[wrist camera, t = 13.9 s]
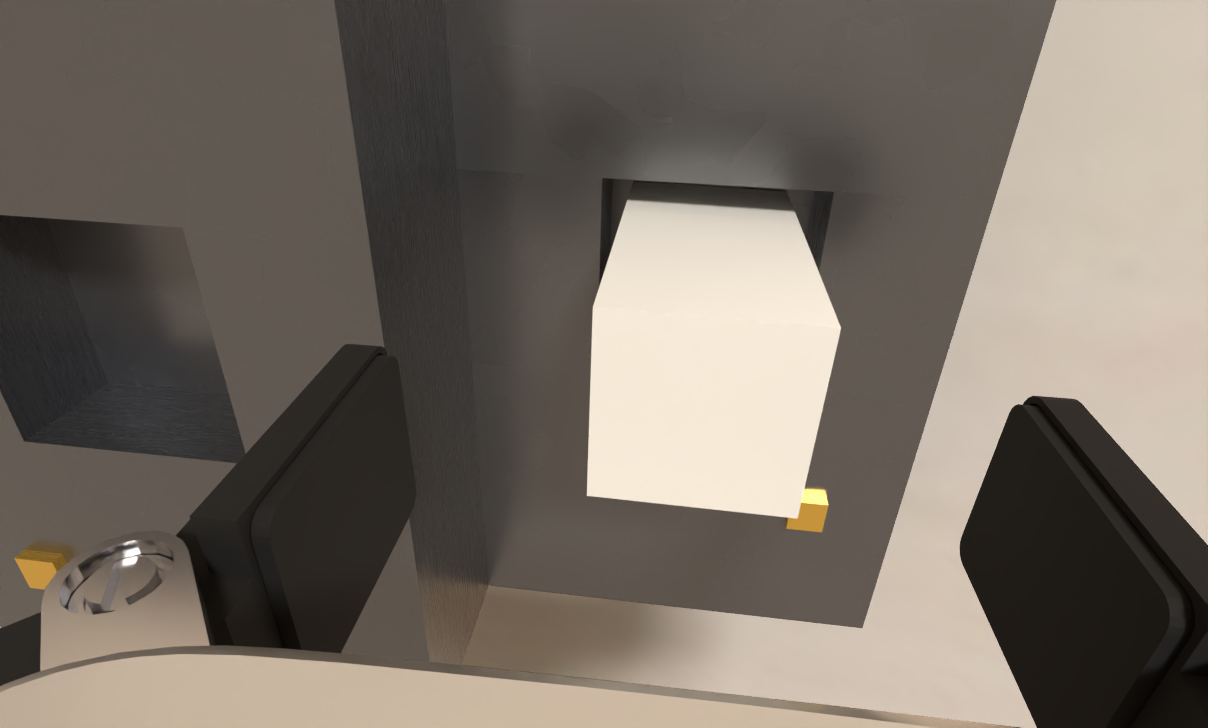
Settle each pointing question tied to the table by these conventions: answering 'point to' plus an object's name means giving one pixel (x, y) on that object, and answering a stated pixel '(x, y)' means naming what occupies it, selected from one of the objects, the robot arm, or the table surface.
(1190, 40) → the table surface
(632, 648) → the table surface
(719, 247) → the plug
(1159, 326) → the table surface
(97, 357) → the panel
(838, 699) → the table surface
